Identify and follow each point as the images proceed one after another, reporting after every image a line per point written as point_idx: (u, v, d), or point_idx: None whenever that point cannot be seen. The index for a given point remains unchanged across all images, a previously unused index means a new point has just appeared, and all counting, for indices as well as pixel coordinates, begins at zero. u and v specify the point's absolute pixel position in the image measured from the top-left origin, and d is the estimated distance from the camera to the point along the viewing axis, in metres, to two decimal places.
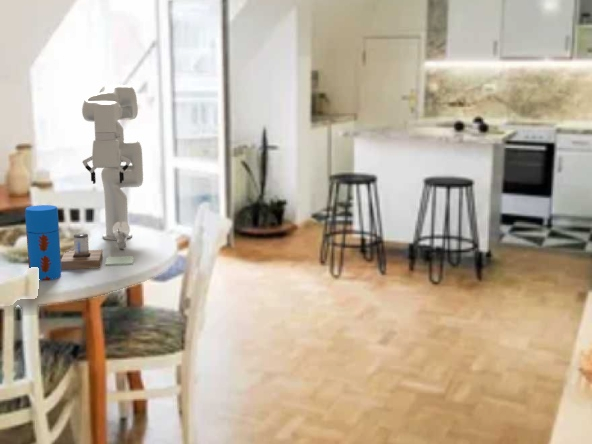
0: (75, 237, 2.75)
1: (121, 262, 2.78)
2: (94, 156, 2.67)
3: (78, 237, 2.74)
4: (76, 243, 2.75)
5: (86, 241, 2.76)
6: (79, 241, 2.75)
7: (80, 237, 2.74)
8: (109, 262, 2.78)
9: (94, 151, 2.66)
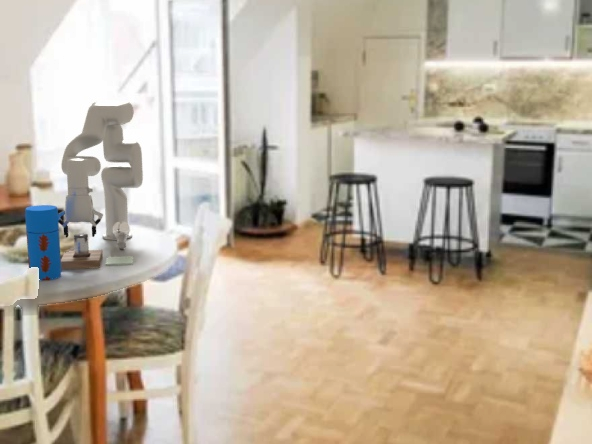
0: (75, 237, 2.75)
1: (121, 262, 2.78)
2: (67, 211, 2.72)
3: (78, 237, 2.74)
4: (76, 243, 2.75)
5: (86, 241, 2.76)
6: (79, 241, 2.75)
7: (80, 237, 2.74)
8: (109, 262, 2.78)
9: (67, 206, 2.71)
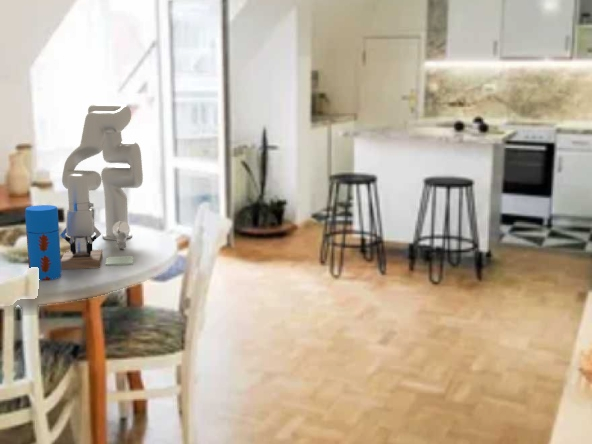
0: (75, 237, 2.75)
1: (121, 262, 2.78)
2: (68, 226, 2.73)
3: (78, 237, 2.74)
4: (76, 243, 2.75)
5: (86, 241, 2.76)
6: (79, 241, 2.75)
7: (80, 237, 2.74)
8: (109, 262, 2.78)
9: (68, 221, 2.73)
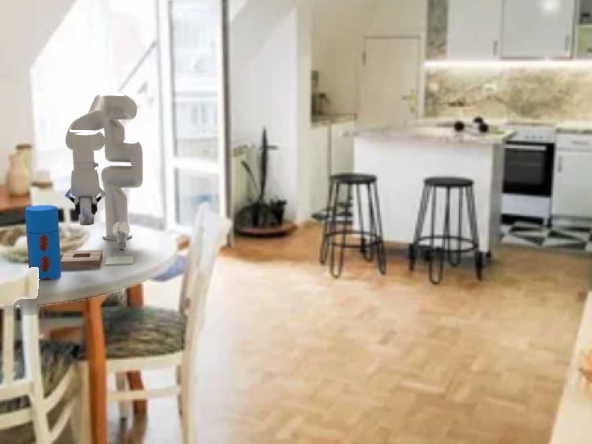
0: (80, 197, 2.72)
1: (121, 262, 2.78)
2: (72, 185, 2.71)
3: (83, 197, 2.72)
4: (81, 203, 2.72)
5: (91, 201, 2.74)
6: (84, 201, 2.72)
7: (85, 197, 2.72)
8: (109, 262, 2.78)
9: (72, 181, 2.70)
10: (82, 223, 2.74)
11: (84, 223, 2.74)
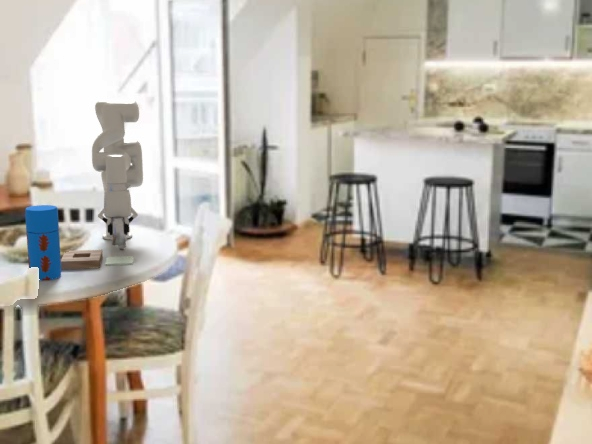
0: (112, 218, 2.76)
1: (121, 262, 2.78)
2: (105, 206, 2.74)
3: (115, 217, 2.75)
4: (113, 224, 2.76)
5: (123, 222, 2.77)
6: (116, 221, 2.76)
7: (117, 217, 2.75)
8: (109, 262, 2.78)
9: (105, 201, 2.74)
10: (115, 243, 2.77)
11: (116, 243, 2.77)
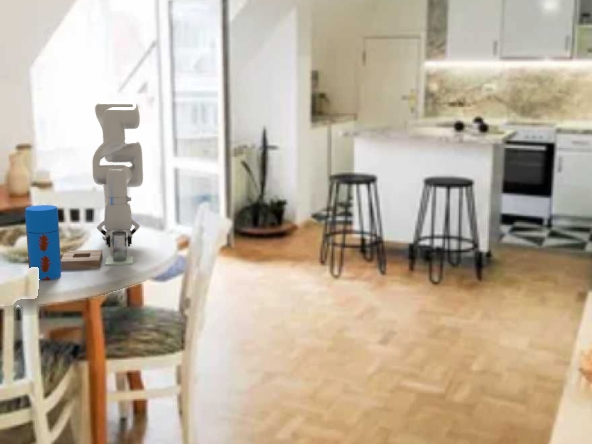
0: (114, 234, 2.77)
1: (121, 262, 2.78)
2: (106, 219, 2.75)
3: (117, 234, 2.76)
4: (115, 240, 2.77)
5: (124, 238, 2.78)
6: (118, 238, 2.77)
7: (119, 234, 2.76)
8: (109, 262, 2.78)
9: (106, 215, 2.75)
10: (115, 259, 2.79)
11: (117, 260, 2.79)
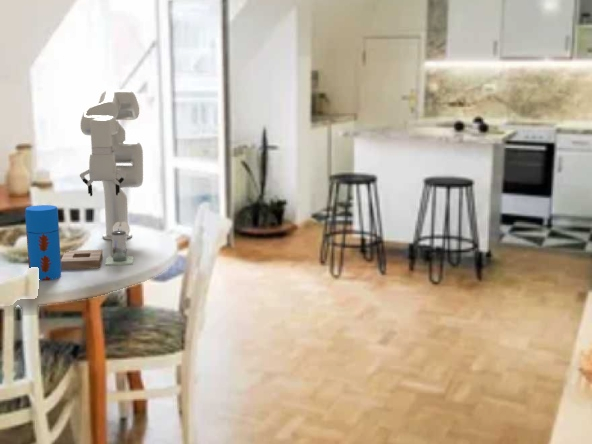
0: (113, 234, 2.77)
1: (121, 262, 2.78)
2: (91, 170, 2.77)
3: (116, 234, 2.77)
4: (114, 240, 2.77)
5: (124, 238, 2.79)
6: (117, 238, 2.77)
7: (118, 234, 2.77)
8: (109, 262, 2.78)
9: (91, 165, 2.77)
10: (115, 259, 2.79)
11: (117, 260, 2.79)
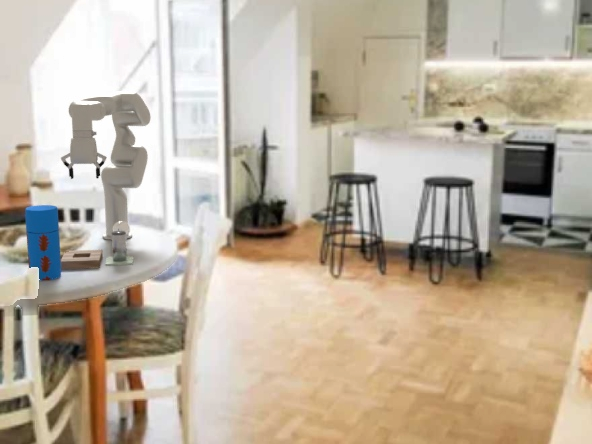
0: (113, 234, 2.77)
1: (121, 262, 2.78)
2: (72, 153, 2.83)
3: (116, 234, 2.77)
4: (114, 240, 2.77)
5: (124, 238, 2.79)
6: (117, 238, 2.77)
7: (118, 234, 2.77)
8: (109, 262, 2.78)
9: (72, 148, 2.83)
10: (115, 259, 2.79)
11: (117, 260, 2.79)
